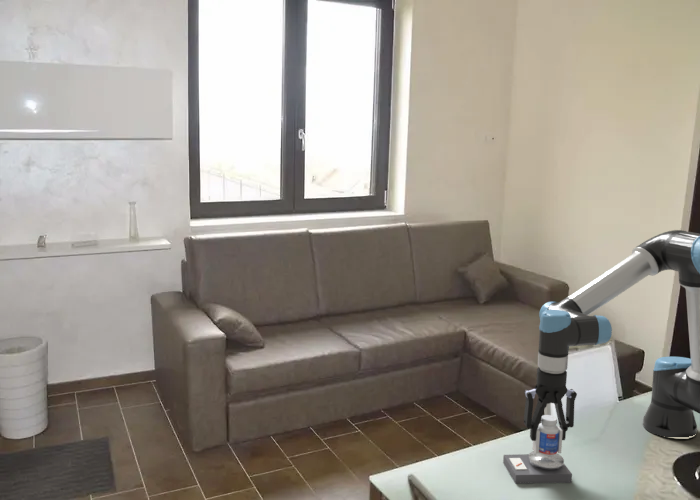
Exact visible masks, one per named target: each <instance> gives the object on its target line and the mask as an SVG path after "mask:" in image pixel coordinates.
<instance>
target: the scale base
mask: <svg viewBox="0 0 700 500" xmlns="http://www.w3.org/2000/svg"><path fill="white" fill-rule="evenodd" d="M529 454H530V453H529ZM529 454H521V453H519V454H503V460H502V463H503V465H504V468H506V470H507V471H508V473H509V475H510V477H511V478H512V480H513V482H514V484H556V483H557V484H560V483H562V484H564V483H567V484H569V483H572V482H573V481H572V480H573V479H572V478H573V473H572V472H571V470H570V469H569V468H568V467H567V465H566V464H565V463H564V465H563V467H561V468H559V469H555V470H548V469H542V468H539V467H536V466H534V465H533V464H532V463H530V461H529Z"/></svg>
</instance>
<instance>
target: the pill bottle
mask: <svg viewBox="0 0 700 500" xmlns="http://www.w3.org/2000/svg"><path fill="white" fill-rule="evenodd" d="M557 422H558V417H556V416H554V415H550V414H542V417H541V420H540V423H539V426H538V429H539V430H540V441H539V454H541V455H544V456H554V455H556V454H558V452H557V447H558V434H559V428H558V426H559V425H557Z"/></svg>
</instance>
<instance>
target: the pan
mask: <svg viewBox="0 0 700 500" xmlns="http://www.w3.org/2000/svg"><path fill="white" fill-rule="evenodd" d="M529 461H530V463H532V464H533V465H534V466H536V467H539V468H542V469H548V470H555V469H559V468H561V467H563V465H564V464H565V463H564V462H565V460H564V457H563V456H562V455H560V453H557V454H556V455H554V456H544V455H541V454H536V453H535V452H534V450H533V451H531V452H529Z"/></svg>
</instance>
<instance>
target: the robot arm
mask: <svg viewBox="0 0 700 500" xmlns="http://www.w3.org/2000/svg"><path fill="white" fill-rule="evenodd" d="M663 271H674V272H677V273H678V282H679V285H680V286H681V287H682V288H684V289H685V297H686V311H687V312H686V313H687V324H688V338H689V352H690V358H689V357H685V356H662V357H658V358H657V359H656V360H655V362H654V367H653V369H652V370H653V371H652V375H653V376H652V383H651V386H652V388H651V398H650V399H651V400H650V403H649V406H648V407H647V410H646V412H645V414H644V416H643V419H642V420H643V421H642V426H643V428H644V429H645V430H646V431H648V432H650V433H651V434H653V433H654V434H653V435H655V434H657V435H656V436H658V435H661V436H665V437H689V436H693V435H695V434H696V433H697V434H698V425H697V421H696V417H695V414H694V412H696V413H698V414H699V415H700V233H697V232H692V231H686V230H682V229H681V230H680V229H674V230H669V231H664V232H662V233H659V234H657V235H655V236H653V237H651V238H649V239H647V240H644V241H643V242H641V243H640V244H639V245H637V246H635V247H634V248H633V249H632V250H631V254H630V255H628V256H627V257H625V258H624V259H622V260H621V261H619V262H617V263H616V264H615V265H614V266H612V267H610V268H608V269H607V270H606V271H605V272H603V273H602V274H600V275H598V276H596V277H595V278H594V279H592V280H590V281H589V282H588V283H586V284H585V285H583V286H582V287H580V288H578V289H577V290H576V291H574V292H572V293H571V294H569V295H568V296H567V297H565V298H563V299H562V300H560V301H559V302H557V301H547V302H545V303H544V304H543V305H542V306H541V308H540V310H539V313H538V315H539V321H540V322H539V327H538V328H539V334H538V352H537V369H536V384H535V386H534V388H533V389H530V390H529V389H524V396H525V405H524V414H523V424H524V426H525V427H526V428H527V429H530V432H529V438H530V440H531V441H532V450H533V451H534V452H535V453H536V454H539V441H540V430H539V429H538V426H539V424H540V423H541V417H542V416H543V415H544V410H545V409H546V408H547V406H548V404H554V409H555V413H556V416H557V417H556V418H557V422H558V425H557V426H558V428H559V434H558V447H557V454H562V448H563V446H562V445H563V444H562V443H563V441H565V440H566V434H567V431H568V430H569V429H570V428H574V426H575V425H574V423H575V422H574V421H575V402H576V401H575V400H576V399H577V396H578V393H577V392H576V391H575V390H574V389H573V388H571V389H569V388H567V377H568V371H567V370H568V366H569V365H568V362H569V361H568V360H569V350H570V347H577V346H578V347H579V346H581V347H582V346H592V345H593V346H598V345H601V344H606V343H608V342H609V341H610V339H611V337H612V333H613V332H612V331H613V329H612V327H613V326H612V323H611V321H610V319H608V317H606V316H605V315H596V314H594V315H591V314H593V313H594V312H595V311H597V310H598V309H600V308H602V307H603V306H604V305H606V304H608V303H609V302H611V301H612V300H614V299H615V298H616V297H618V296H619V295H621V294H622V293H624V292H626V291H627V290H629V289H630V288H631V287H633V286H634V285H636V284H638V283H639V282H640V281H642V280H644V279H645V278H647V277H648V276H656V275H658V274H659V273H661V272H663ZM536 395H537V397H538V399H537V400H536V401H537V404H536V406H535V409H534V399H535V398H536ZM563 397H566V402H565V404H566V405H565V413H564V408H563V401H562V399H563ZM533 409H534V411H533ZM661 436H660V437H661ZM665 437H664V438H665Z"/></svg>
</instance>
